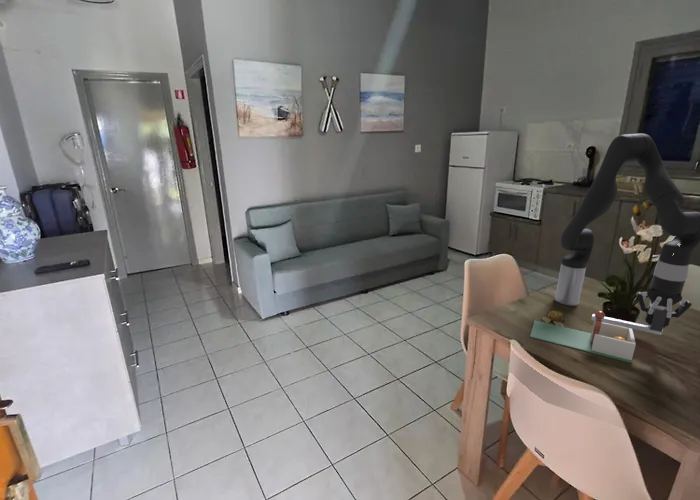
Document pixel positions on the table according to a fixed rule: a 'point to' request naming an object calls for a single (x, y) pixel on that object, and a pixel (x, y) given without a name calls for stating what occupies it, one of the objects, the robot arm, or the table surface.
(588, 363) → the table surface
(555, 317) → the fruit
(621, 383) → the table surface
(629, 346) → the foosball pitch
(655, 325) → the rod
